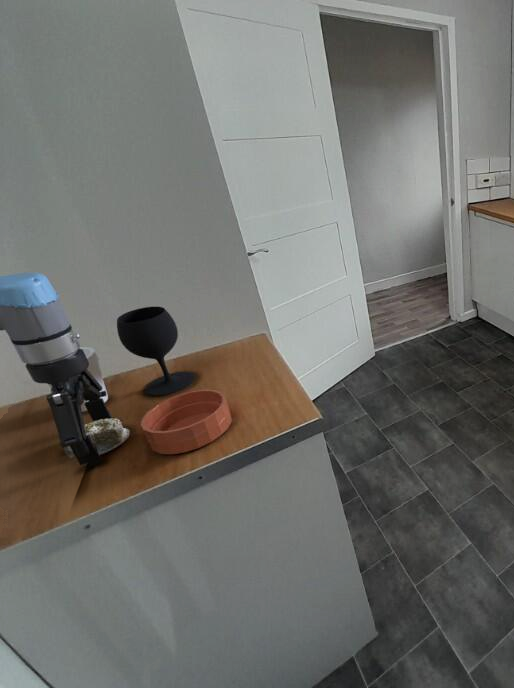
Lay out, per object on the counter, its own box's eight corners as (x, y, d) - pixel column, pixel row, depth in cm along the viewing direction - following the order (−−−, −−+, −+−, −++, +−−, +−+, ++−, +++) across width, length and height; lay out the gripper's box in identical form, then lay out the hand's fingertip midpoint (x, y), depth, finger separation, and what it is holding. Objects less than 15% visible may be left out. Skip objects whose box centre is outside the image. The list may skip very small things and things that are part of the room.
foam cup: (59, 424, 90) (30, 375, 84) (64, 403, 96) (38, 356, 91) (116, 406, 95) (93, 360, 90) (118, 387, 102) (96, 343, 96)
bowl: (147, 466, 79) (136, 442, 77) (154, 425, 90) (145, 403, 87) (233, 438, 87) (226, 415, 84) (230, 403, 97) (223, 382, 95)
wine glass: (193, 368, 110) (168, 301, 102) (197, 386, 103) (170, 316, 94) (144, 382, 104) (112, 312, 96) (144, 403, 97) (110, 329, 88)
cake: (55, 455, 82) (42, 434, 80) (116, 424, 91) (105, 404, 88) (79, 468, 78) (66, 446, 76) (140, 435, 87) (130, 414, 85)
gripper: (64, 381, 68) (113, 475, 77) (94, 325, 87) (131, 405, 96) (-2, 396, 64) (57, 493, 73) (45, 334, 83) (87, 417, 92)
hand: (99, 444), depth 84 cm, fingers open, 13 cm apart
